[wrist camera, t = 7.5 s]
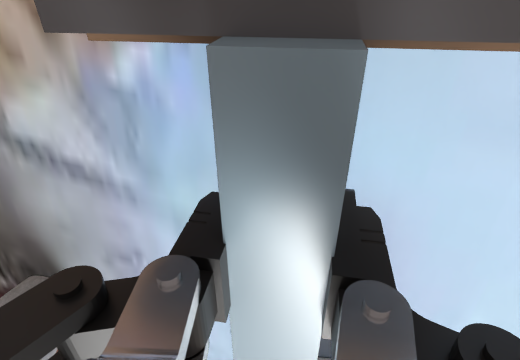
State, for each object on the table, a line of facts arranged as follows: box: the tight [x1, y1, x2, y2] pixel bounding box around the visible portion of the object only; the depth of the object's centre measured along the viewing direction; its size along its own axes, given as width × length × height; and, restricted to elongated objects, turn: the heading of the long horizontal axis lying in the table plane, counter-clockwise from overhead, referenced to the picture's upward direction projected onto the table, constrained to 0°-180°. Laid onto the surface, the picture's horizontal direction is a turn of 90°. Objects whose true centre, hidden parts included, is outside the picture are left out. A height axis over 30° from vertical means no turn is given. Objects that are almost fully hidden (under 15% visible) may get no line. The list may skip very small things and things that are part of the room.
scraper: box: [34, 0, 520, 360], centre depth 10 cm, size 16×10×5 cm, turn 0°
